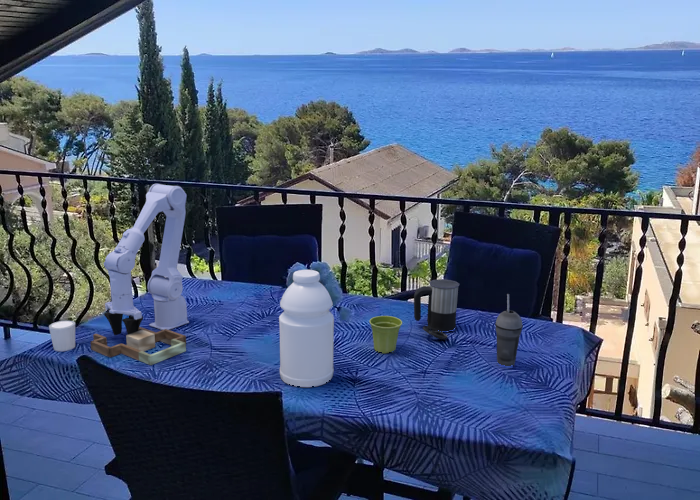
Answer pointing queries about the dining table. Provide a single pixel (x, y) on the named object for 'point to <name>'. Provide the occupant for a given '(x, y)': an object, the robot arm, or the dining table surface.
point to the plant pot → (385, 332)
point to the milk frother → (438, 306)
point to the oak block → (141, 340)
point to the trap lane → (163, 336)
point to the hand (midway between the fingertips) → (125, 337)
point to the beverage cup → (508, 336)
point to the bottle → (306, 332)
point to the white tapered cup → (63, 335)
